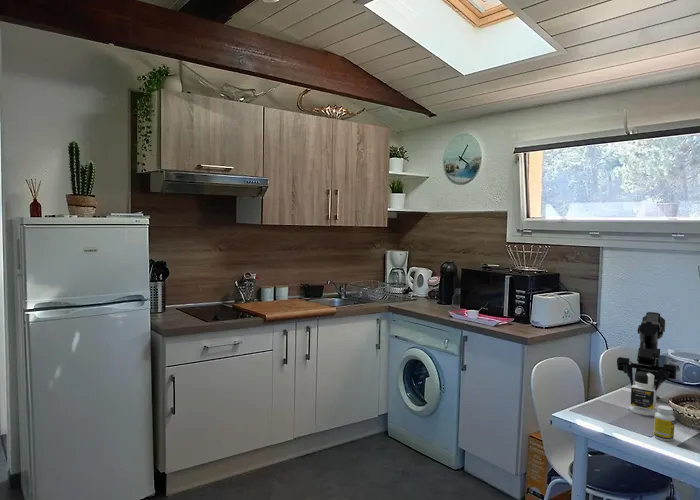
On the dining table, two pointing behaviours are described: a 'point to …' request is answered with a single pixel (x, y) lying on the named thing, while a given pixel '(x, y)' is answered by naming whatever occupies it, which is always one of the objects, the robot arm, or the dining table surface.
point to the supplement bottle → (664, 424)
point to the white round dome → (642, 411)
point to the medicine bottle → (643, 391)
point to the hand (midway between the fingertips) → (643, 387)
